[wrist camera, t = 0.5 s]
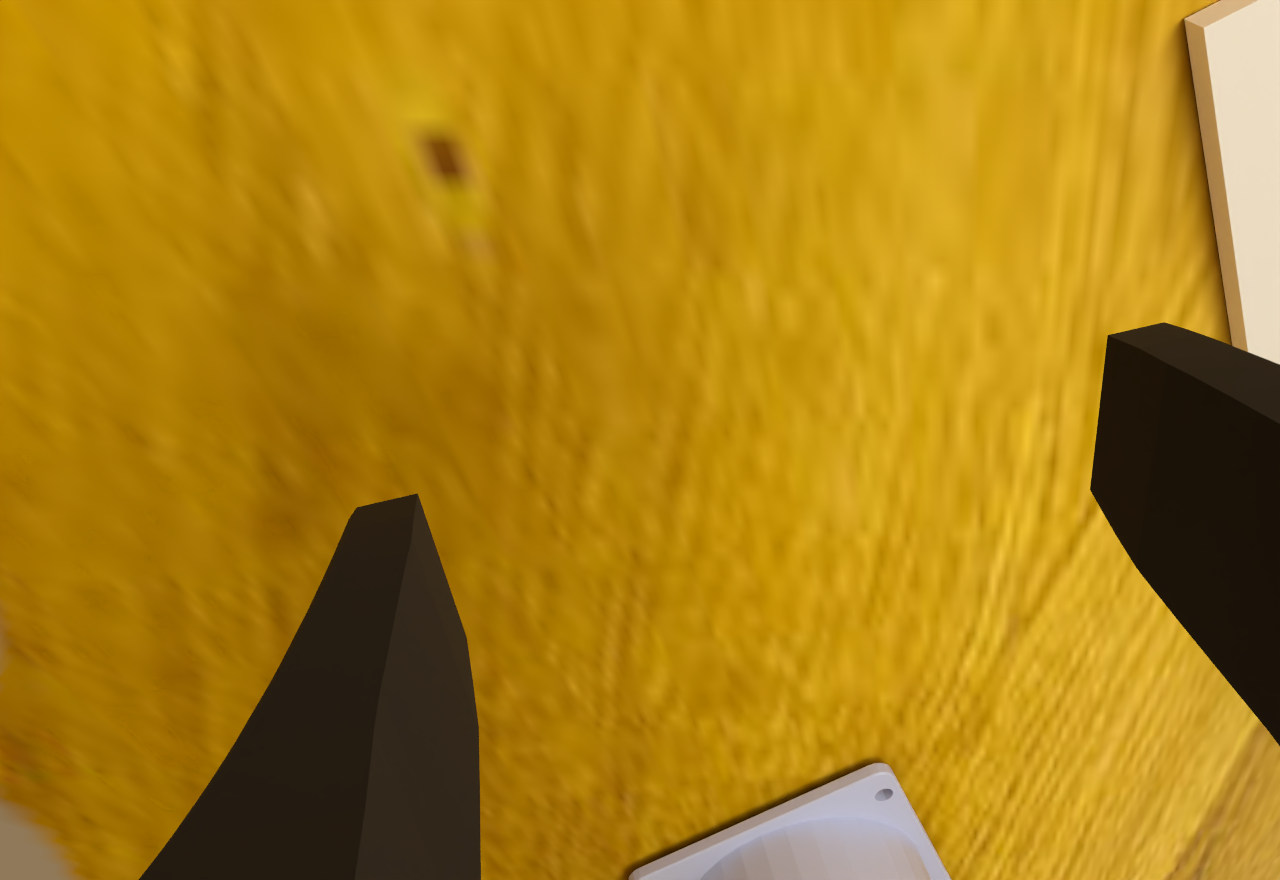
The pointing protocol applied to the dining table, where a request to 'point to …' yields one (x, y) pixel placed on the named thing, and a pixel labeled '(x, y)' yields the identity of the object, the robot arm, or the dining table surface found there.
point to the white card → (1243, 158)
